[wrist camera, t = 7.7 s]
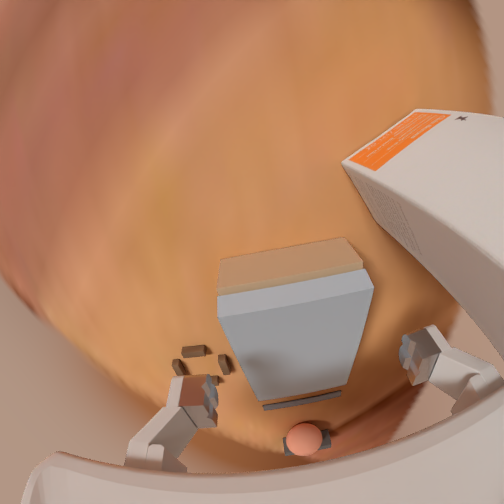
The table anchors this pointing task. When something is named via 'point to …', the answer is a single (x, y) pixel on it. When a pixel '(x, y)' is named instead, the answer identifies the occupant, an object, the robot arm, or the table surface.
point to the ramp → (295, 315)
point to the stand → (197, 352)
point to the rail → (325, 444)
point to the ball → (304, 439)
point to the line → (302, 401)
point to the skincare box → (444, 203)
